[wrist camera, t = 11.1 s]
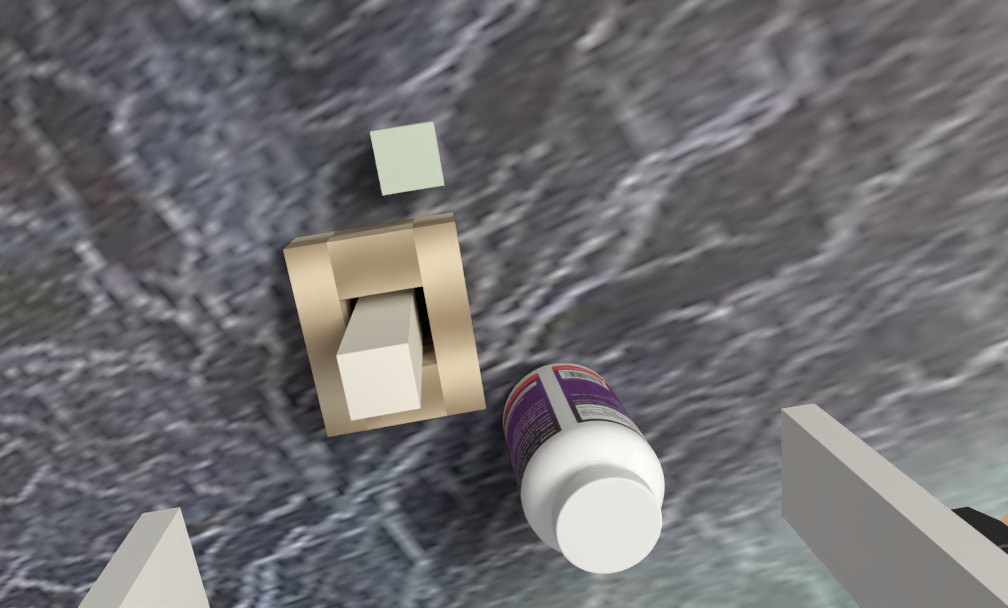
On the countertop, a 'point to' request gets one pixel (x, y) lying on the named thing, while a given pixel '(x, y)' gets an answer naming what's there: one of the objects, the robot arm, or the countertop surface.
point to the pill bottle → (583, 468)
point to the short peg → (407, 157)
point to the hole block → (378, 269)
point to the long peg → (382, 355)
